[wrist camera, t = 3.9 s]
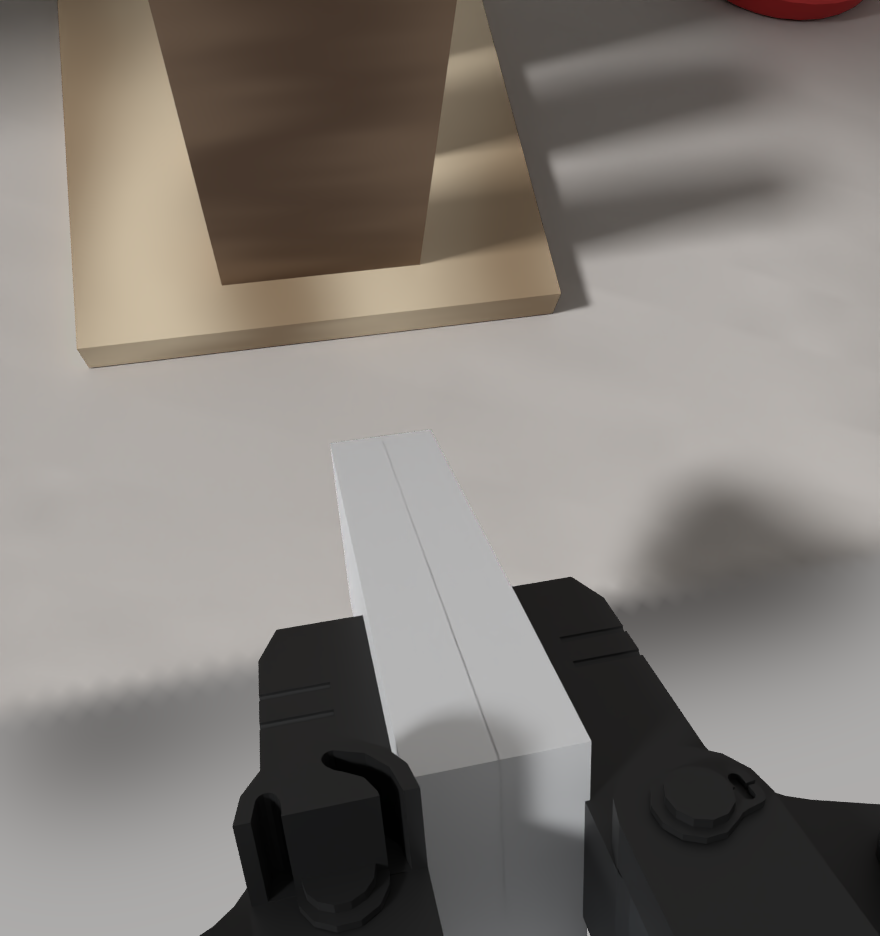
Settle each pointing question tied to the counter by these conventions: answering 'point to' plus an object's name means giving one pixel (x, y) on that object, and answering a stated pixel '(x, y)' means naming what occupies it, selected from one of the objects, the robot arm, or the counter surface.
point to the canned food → (797, 8)
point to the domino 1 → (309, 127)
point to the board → (286, 300)
